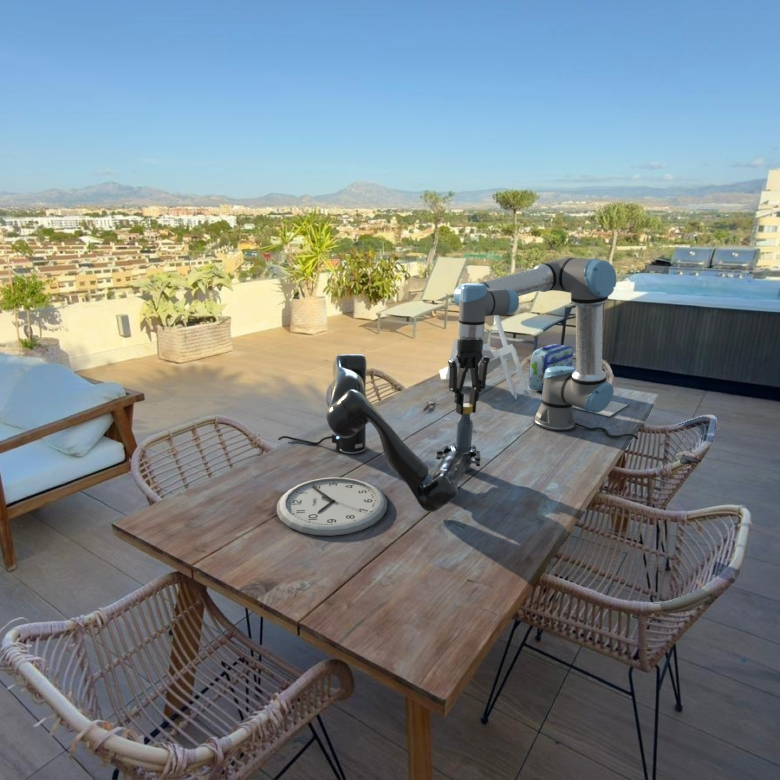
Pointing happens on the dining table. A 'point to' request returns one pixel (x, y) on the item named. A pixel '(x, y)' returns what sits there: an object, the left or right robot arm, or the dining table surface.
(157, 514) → the dining table surface
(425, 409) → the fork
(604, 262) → the right robot arm
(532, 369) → the lunch box
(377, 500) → the wall clock
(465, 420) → the bottle
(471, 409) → the cap
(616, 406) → the invitation card
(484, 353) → the white plastic object
